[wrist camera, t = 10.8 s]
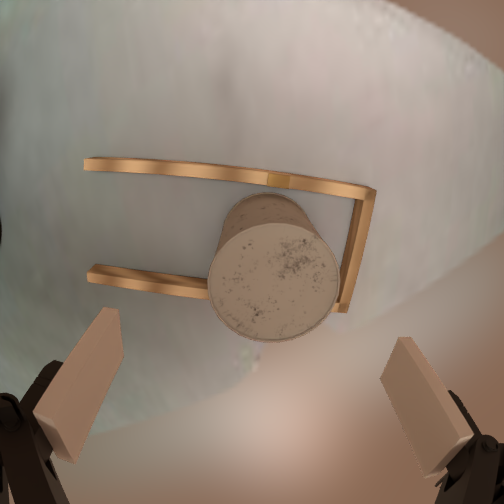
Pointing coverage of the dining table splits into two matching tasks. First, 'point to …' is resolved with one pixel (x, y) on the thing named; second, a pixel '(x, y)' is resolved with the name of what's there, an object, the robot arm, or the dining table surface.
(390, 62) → the dining table surface
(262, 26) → the dining table surface
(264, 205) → the speckled beige cylinder
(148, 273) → the beam frame
